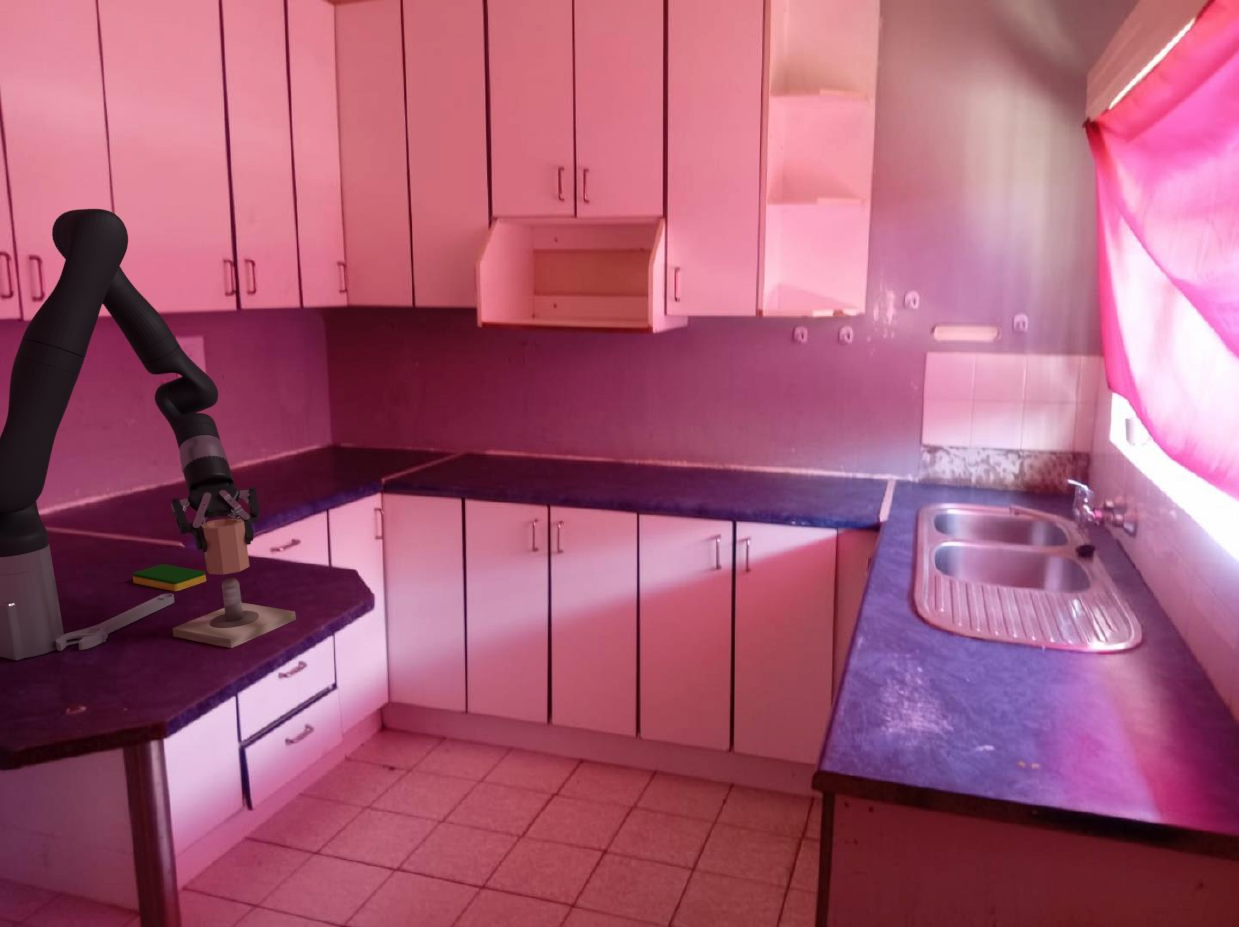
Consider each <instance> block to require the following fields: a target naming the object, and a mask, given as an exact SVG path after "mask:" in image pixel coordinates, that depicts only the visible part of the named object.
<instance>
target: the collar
mask: <svg viewBox="0 0 1239 927" xmlns="http://www.w3.org/2000/svg"><path fill="white" fill-rule="evenodd" d="M201 528H202V529H203V532H204V536H205V539H206V543H207V552H204V560H205V567H206V571H207V572H208V574H210V575H223V576H224V575H228V574H234V573H239V572H241V571H244V570H245V569H247V568H249V567H250V560H249V553H248V552H249V551H248V545H247V543H246V535H245V526H244V521H243V520H242V519H241V518H231V517H226V518H220V519H213V520H209V521H207V522H205V523H204V524H202V525H201Z"/></svg>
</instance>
